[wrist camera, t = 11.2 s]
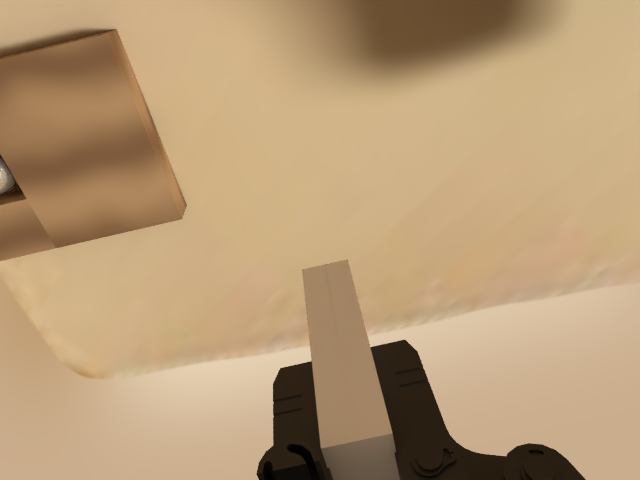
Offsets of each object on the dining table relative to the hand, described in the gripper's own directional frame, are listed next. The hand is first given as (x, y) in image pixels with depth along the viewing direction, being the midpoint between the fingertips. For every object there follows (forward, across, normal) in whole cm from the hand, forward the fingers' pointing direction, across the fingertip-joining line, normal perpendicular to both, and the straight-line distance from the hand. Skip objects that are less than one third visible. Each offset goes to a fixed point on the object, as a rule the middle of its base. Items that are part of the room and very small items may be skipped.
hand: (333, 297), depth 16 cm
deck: (+24, -20, +1) cm, 32 cm away
